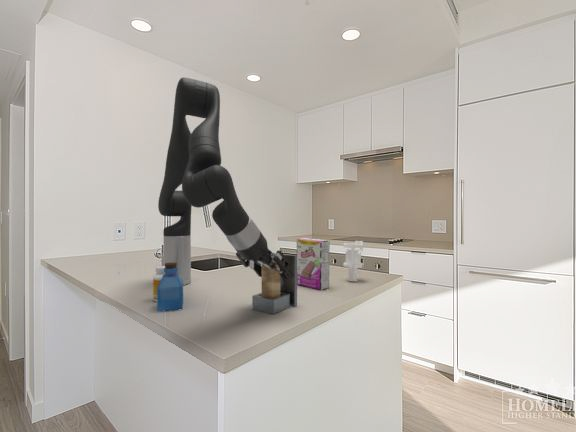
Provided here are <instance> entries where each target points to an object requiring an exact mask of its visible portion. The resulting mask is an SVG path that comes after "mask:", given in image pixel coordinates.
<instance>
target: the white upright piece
mask: <svg viewBox="0 0 576 432" xmlns="http://www.w3.org/2000/svg"><path fill="white" fill-rule="evenodd" d="M343 247H344V248H347V249H346V250H345V261H344V262H343V263H342V264H343V267H345V268H348V282H350V281H357V282H358V269H361V268H363V267H364V266H363V265H364V263H363V262H361V261H362V258H361V257H362V255H361V254H362V253H361V252H363V251H364V241H363V240H355V242H344V243H343Z"/></svg>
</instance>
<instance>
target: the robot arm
mask: <svg viewBox="0 0 576 432" xmlns="http://www.w3.org/2000/svg"><path fill="white" fill-rule="evenodd" d="M220 96H221V95H220V90H219V89H218V87H217V86H216V85H215V84H213V83H209V82H206V81H203V80H202V81H201V80H197V79H193V78H189V77H181V78H179V80H178V81H177V85H176V90H175V97H174V103H173V104H174V105H173V115H172V116H173V117H172V127H171V128H172V129H171V133H170V138H169V143H168V148H167V154H166V158H165V159H166V160H165V168H164V176H163V182H162V185H161V189H160V193H159V198H158V202H157V203H158V206H157V207H158V212H159V214H160V215H161V216H163V217H180V218H179V220H178V221H177V222H175V223H173V224H171V225H168V226H165V227H163V231H162V233H163V239H162V241H163V243H162V244H163V256H162V258H161V261H162V262H161V263H162V265H161V266H165V263H171V262H174V263H177V265H176V267H177V272H176V274H179V275H180V277H181V278H182V280H183V286H186V285H188V284H191V282H192V265H191V264H192V259H191V258H192V254H191V253H192V248H191V247H192V244H191V242H192V239H191V234H192V233H191V232H192V227H191V226H192V223H191V222H192V207H194V208H197V209H199V208H204V207H205V206H206V207H207V206H208V205H211V204H213V203H215V202H218V201H221V200H222V201H221V202H220V203H218V204H217V205H216V206H215V207H214V209H213V210H212V214H211V216H212V220H213V222H214V223H215V224H216V226H217V227H218V228H219V229H220V230H221V232H222V233H223V234H224V236H225V237H226V239H227V241H228V242H229V244H230V245H231V247H233V248H234V250H235V251H236V253H235V256H236V257H237V258H238V260H239V261H240V263H241V264H242V265H243V266H244V268H248V267H249V269H250V270H253V271H254V273H256V275H257V276H258V277H261V278H262V265H264V266H266V267H267V268H269V269H270V270H273V269H274V270H275V271H277V272H278V273H279V274H280V276H281V277H282V279H283V280H284V281H287V280H288V278H289V276H290V273H289V272H288V271H287V270H288V268H289V266H290V263H289V262H288V260H287V259H286V258H285V256H284V255H283V254H284V253H283V252H282V251H281V250H276V252H272V251H271V250H270V249H269V246H268V241H267V238H266V237H265V236H264V235H263V233H262V232H261V230H260V229H259V227H258V226H257V224H256V223H255V222H254V220H253V219H252V218H251V217H250V216H249V214H248V213H247V212H246V210H245V209H244V207H243V206H242V204H241V202H240V200H239V197H238V194H237V192H236V189H235V186H234V182H233V178H232V176H231V175H232V174H231V173H230V171H228V169H227V168H225V167H224V166H222V165H221V164H222V155H221V147H220V137H219V135H220V134H219V133H220V132H219V131H220V119H221V117H220V114H221V112H220V111H221V97H220ZM187 116H191V117H196V118H200V119H204V120H203V121H201V123H200V124H198V125H197V126H196V127H195V128H194V129H193V131H192V132H191V130H190V128H189V125H188V123H187V118H186V117H187ZM180 186H181V190H177V189H178V188H179V187H180ZM272 259H273V260H274V262H273V264H272V265H270V262H271V260H272ZM276 264H277V265H278V266H279V268H277V267H276Z"/></svg>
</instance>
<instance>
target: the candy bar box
mask: <svg viewBox="0 0 576 432" xmlns="http://www.w3.org/2000/svg"><path fill="white" fill-rule="evenodd" d="M296 255H297V286H303V287H306V288H309V289H315V290H318V291H324V290H326V289H329V288H330V240H328V239H321V238H320V239H318V238H309V237H301V238H297V239H296Z"/></svg>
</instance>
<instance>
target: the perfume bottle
mask: <svg viewBox="0 0 576 432" xmlns="http://www.w3.org/2000/svg"><path fill="white" fill-rule="evenodd" d="M176 265H177V263H174V262H171V263H165V268H164V272H165V275H163V277H162V279H161V281H160V283H159V286H158V288H157V304H156V305H157V308H156V310H157V311H160V312H164V311H163V310H172V311H180V310H179V309H182V310H183V309H184V308H183V307H184V285H183V280H182V278H181V277H180V275H179V274H176V272H177V267H176Z"/></svg>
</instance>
